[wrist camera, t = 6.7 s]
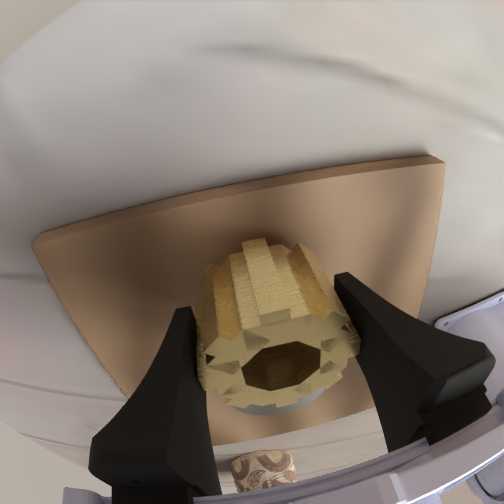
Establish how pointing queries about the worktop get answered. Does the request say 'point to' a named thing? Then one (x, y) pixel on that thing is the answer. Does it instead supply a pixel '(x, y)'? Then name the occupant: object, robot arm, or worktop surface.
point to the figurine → (263, 470)
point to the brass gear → (270, 326)
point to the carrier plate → (230, 242)
